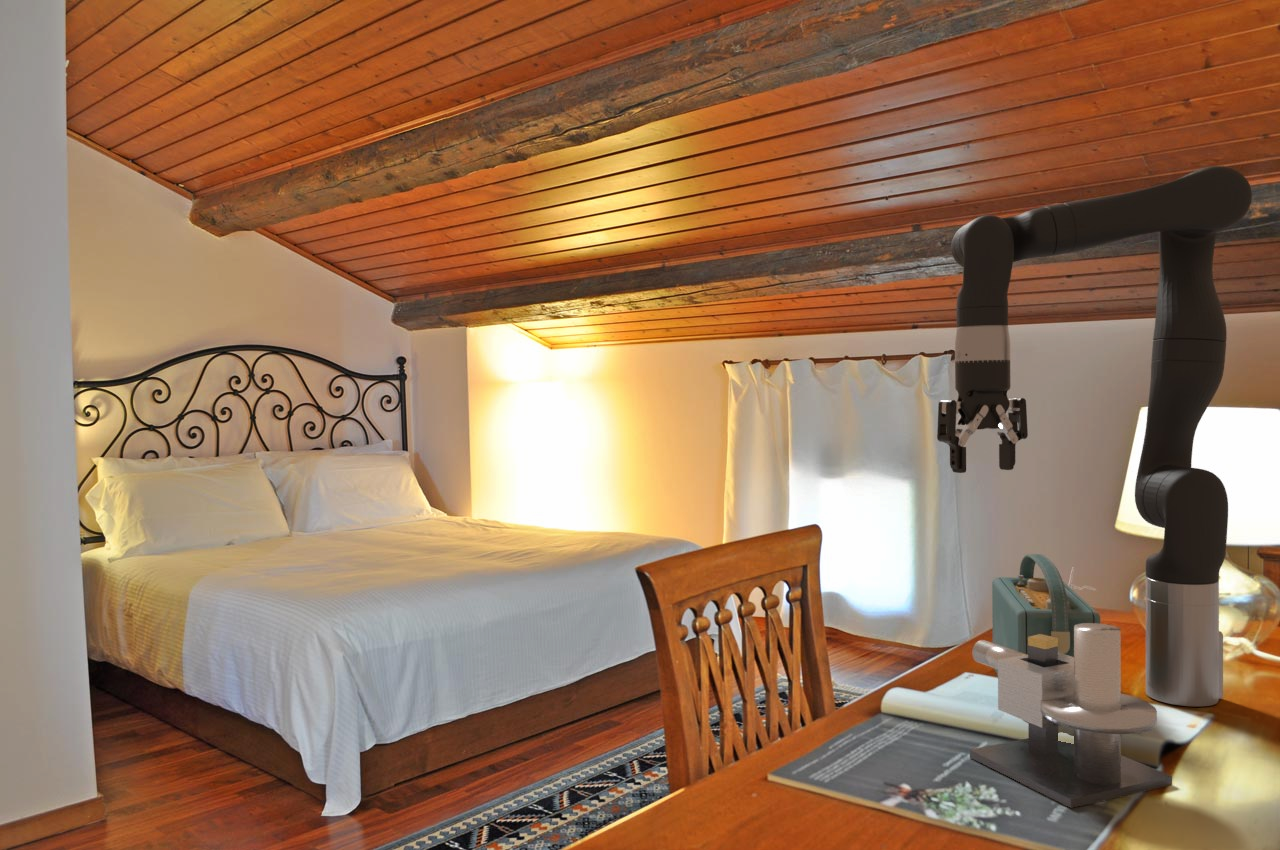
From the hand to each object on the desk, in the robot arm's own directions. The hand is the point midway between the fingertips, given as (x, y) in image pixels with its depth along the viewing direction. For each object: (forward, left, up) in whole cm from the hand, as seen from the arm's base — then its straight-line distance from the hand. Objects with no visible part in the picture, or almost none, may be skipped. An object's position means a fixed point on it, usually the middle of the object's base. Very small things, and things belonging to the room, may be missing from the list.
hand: (983, 471), depth 143 cm
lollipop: (-40, -24, -33) cm, 57 cm away
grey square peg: (+10, +22, -32) cm, 40 cm away
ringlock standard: (+10, +23, -33) cm, 42 cm away
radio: (-9, +2, -33) cm, 35 cm away
